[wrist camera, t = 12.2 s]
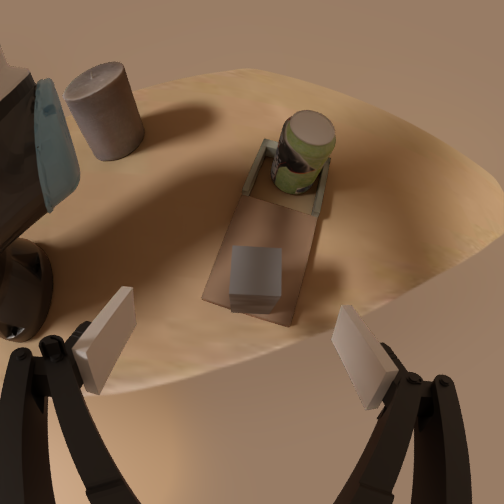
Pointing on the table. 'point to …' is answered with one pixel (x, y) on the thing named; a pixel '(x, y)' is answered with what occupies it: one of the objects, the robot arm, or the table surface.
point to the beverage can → (302, 151)
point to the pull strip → (265, 235)
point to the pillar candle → (105, 111)
